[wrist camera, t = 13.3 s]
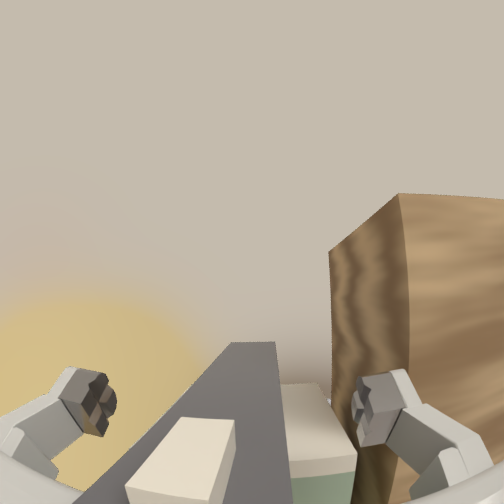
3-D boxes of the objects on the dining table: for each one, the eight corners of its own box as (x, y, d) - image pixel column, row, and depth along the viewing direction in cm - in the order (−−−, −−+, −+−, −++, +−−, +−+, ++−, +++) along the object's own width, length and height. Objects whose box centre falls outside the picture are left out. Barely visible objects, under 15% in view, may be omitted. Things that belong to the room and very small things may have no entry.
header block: (206, 513, 20) (192, 384, 22) (310, 514, 19) (316, 382, 22) (177, 595, 8) (128, 448, 10) (324, 599, 7) (357, 453, 10)
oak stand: (324, 491, 23) (328, 251, 27) (423, 469, 22) (436, 247, 26) (353, 595, 7) (398, 193, 11) (490, 540, 7) (547, 204, 11)
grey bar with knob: (232, 383, 22) (230, 332, 23) (275, 383, 22) (274, 331, 23) (103, 627, 1) (4, 502, 1) (287, 658, 1) (309, 582, 1)
